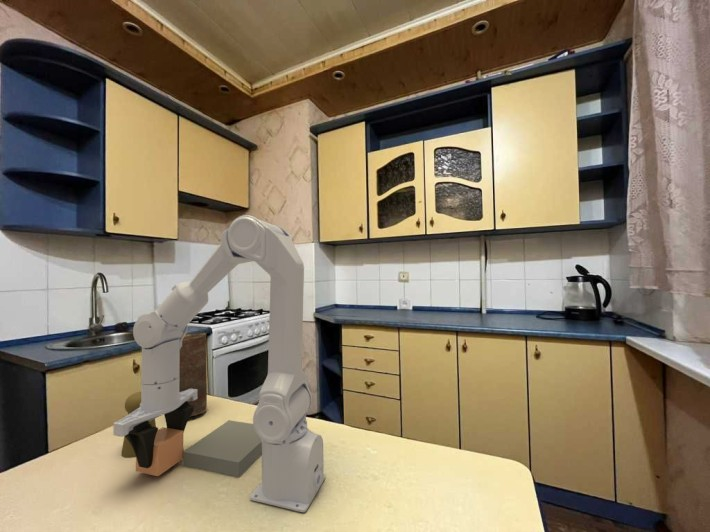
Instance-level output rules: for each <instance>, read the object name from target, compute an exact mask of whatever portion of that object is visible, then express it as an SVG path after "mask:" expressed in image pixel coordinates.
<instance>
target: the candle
mask: <svg viewBox="0 0 710 532" xmlns="http://www.w3.org/2000/svg"><path fill="white" fill-rule="evenodd" d="M207 378H208V377H207V333H206V332H203V333H193V334H188V333H187V334H186V335H185V336H184V338H183V340H182V347H181V349H180V366H179V392H182V391H185V390H188V389H197V399H196V400H194V401H189V402H188V404H190V405H194V411H193V413H192V414H191V416H190V417H194V416H198V415H201V414H204V413H206V412H207V411H208V407H207V406H208V404H207V403H208V399H207V398H208V388H207V387H208V386H207V385H208V384H207ZM206 410H207V411H206Z"/></svg>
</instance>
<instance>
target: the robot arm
mask: <svg viewBox="0 0 710 532" xmlns="http://www.w3.org/2000/svg"><path fill="white" fill-rule="evenodd" d="M252 262H254V263H256V264H257V265H258V266H259V267H260V268H261V269H262V270H264V271H265V272H266V274H268V275H269V277H270V281H269V282H270V284H269V287H270V288H269V318H268V319H269V321H268V322H269V324H268V325H269V326H268V358H267V359H268V360H267V363H268V364H267V375H266V378H265V379H264V381H263V383H262V386H261V389H260V391H259V400H258V405H257V407H256V409H255V410H254V412H253V418H252V424H253V425H254V429H255V431H256V433H257V435H258V436H259V437H260V438H261V442H262V455H261V483H259V485H258V486H257V487H256V488H255V489H254V490H253V492H252V493H251V494H250V495H249V499H250V500H251V501H253V502H258V503H262V504H266V505H271V506H275V507H279V508H282V509H288V510H292V511H296V512H301V513H305V512H307V511H308V508H309V507H310V505H311V503H312V502H313V500H314V499H315V497H316V494H317V493H318V491H319V489H320V488H321V486H322V484H323V482H324V480H325V479H326V473H324V470H325V469H324V466H325V465H324V461H325V460H324V459H325V458H324V440H323V437H322V436H321V434H318V433H315V432H313V431H312V430H310V429H309V427H308V421H307V413H308V412H309V411H310V409H311V407H312V405H313V395H312V392H311V390H310V387H309V385H308V384H309V383H308V380H309V379H308V374H307V373H306V372H304V371H303V369H302V365H303V363H302V362H303V328H304V327H303V325H304V324H303V323H304V320H303V319H304V286H305V285H304V284H305V283H304V282H305V266H304V261H303V259H302V258H301V255H300V253H299V252H298V250H297V247H296V246H295V245H294V243H293V236H292V234H290V233H289V232H288V231H286V230H285V228H283V227H281V226H280V225H277V224H273V223H269V222H267V221H265V220H260V219H258V218H257V217H255V216H253V215H247V214H246V215H240V216H238V217H237V218H235V219H234V220H233V221H232V222H231V223H230V225H229V227H227V228H226V229H225V230H224V231H223V232H222V233H221V238H220V243H219V244H218V246H217V247H216V248H215V249H214V251H213V252H212V254H211V255H210V256H209V257H208V258H207V259H206V261H205V263H204V264H203V265H202V266H201V267H200V269H198V271H197V273H196V274H195V275H194V276H193V278H192V279H191V280H190V281H181V282H180V283H178V284H177V283H176V284H174V285H173V286H172V288H171V292H170V293H169V294H168V295H167V296H166V297H165V299H164V300H163V301H162V302H161V303H159V304H158V305H157V306H156V308H155V310H152V311H151V312H150V313H144V314H141V315H139V316H138V318H137V320H135V322H134V324H133V329H132V334H133V338H134V341H135V342H136V344H137V345H138V346H139V347H141V389H140V390H141V391H140V392H141V404H140V407H139V408H138V409H136V410H135V411H133V412H132V413H130V414H129V415H128V414H127V415H125V417H123V418H121V419H118V420H116V421H114V422H113V429H112V430H113V436H114V437H115V436H116V437H121V438H124V436H125V437H126V438H127V440H128V441H129V442H130V444H131V446H132V448H133V450H134V452H135V455H136V457H135V459H136V458H137V461H138V465H139V467H143V468H149V467H150V466H151V465H152V460H153V446H154V440H155V436H156V433H157V431H158V430H159V427H157V426H156V427H152V426H151V424H149V421H151V420H153V419H155V420H156V419H157V418H159V417H160V416H163V415H164V419H165V423H166V428H170V429H176V430H182V431H183V434H184V433H185V430H186V427H187V424H188V423H189V420H190V418H191V417H192V416H191V414H192V413H193V411H194V405H190V404H188V402H189V401H194V400H196V399H197V389H188V390H185V391H182V392H179V366H180V349H181V347H182V340H183V338H184V336H185V335H187V334H188V330H189V329H188V328H189V324H190V322H191V321H192V320H193V319H194V318H195V317H196V316H197V315H198V314H199V313H200V311H202V309H204V307H205V306H207V304H208V303H209V294H208V293H209V292H210V291H212V290H213V288H215V287H216V286H217V285H218V284H219V283H220V282H221V281H222V280H223V279H225V277H226V276H227V275H228V274H229V273H230V272H232V270H234V269H235V268H236V266H238V265H239V264H246V263H252Z"/></svg>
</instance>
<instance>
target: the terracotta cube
mask: <svg viewBox="0 0 710 532" xmlns="http://www.w3.org/2000/svg"><path fill="white" fill-rule="evenodd" d="M183 451H184V433H183V431H182V430H176V429H170V428H167V427H160V428H158V431H157V433H156V436H155V440H154V446H153V460H152V465H151V466H150V467H149V468H143V467H139V465H138V461H137V458H136V457H135V472H136V473H137V472H138V473H142V474H146V475H151V476H153V477H154V476H155V477H159V476H160V475H162V474H164V473H165V472H166V471H168V470H169V469H171V467H174V466H175V465H176V464H177V463H178V462H180V461H183Z"/></svg>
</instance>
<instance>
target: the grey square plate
mask: <svg viewBox="0 0 710 532" xmlns="http://www.w3.org/2000/svg"><path fill="white" fill-rule="evenodd" d="M260 457H262V442H261V438H260V437H259V436H258V435H257V433H256V431H255V429H254V425H253V423H250V422H242V421H238V420H237V421H236V420H230V419H229V420H227V421H225V422H224V423H223V424H221V425H220V426H218V427H217V428H216V429H214V430H212V431H210V432H209V433H208V434H206V435H205V436H204V437H202V438H201V439H200V440H197V442H195V443H194V444H192V445H190V446H189V447H187V448H186V449H184V450H183V459H182V467H187V468H190V469H195V470H200V471H205V472H210V473H214V474H220V475H224V476H228V477H233V478H237V479H238V478H239V479H240V477H241V476H242V475H243V474H244V473H245V472H246V471H247V470H248V469H249V468H250V467H251V466H252V465H253V464H254V463H255V462H256V461H257V460H258V459H259V458H260Z"/></svg>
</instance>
